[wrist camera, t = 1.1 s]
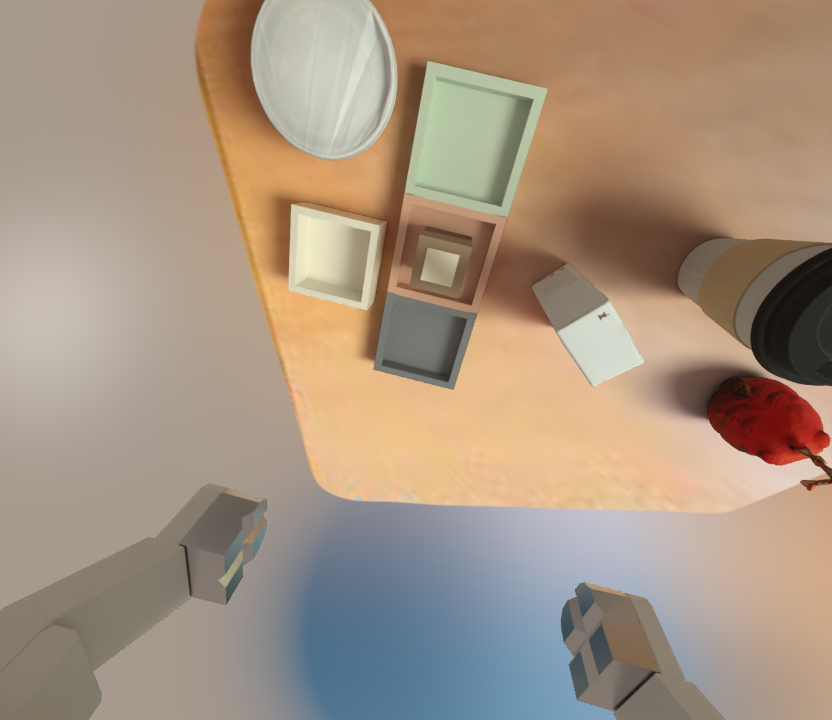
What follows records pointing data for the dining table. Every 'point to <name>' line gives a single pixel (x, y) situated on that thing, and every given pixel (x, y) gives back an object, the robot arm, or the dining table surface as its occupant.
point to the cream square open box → (335, 254)
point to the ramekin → (324, 74)
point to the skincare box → (587, 325)
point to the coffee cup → (769, 301)
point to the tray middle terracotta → (452, 219)
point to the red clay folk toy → (769, 423)
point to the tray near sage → (472, 138)
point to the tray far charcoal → (422, 340)
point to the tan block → (441, 261)
